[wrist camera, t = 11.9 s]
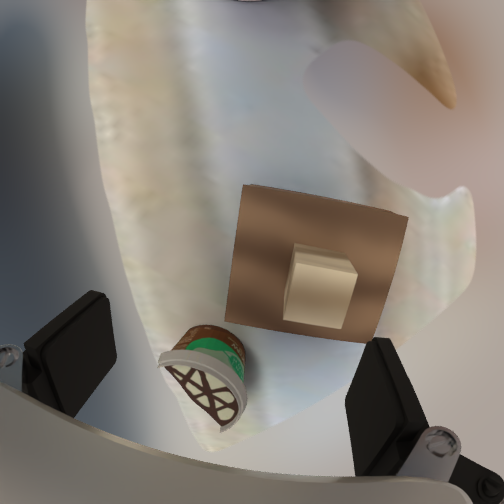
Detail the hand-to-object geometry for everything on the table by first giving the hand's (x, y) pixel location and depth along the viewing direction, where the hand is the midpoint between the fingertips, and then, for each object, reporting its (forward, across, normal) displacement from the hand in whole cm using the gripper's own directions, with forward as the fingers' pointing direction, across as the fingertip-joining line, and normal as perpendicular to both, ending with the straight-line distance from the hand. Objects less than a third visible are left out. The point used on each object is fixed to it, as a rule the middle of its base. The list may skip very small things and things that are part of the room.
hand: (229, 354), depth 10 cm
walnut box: (+25, -5, +4) cm, 25 cm away
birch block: (+20, -5, +4) cm, 21 cm away
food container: (+25, +3, +18) cm, 30 cm away
